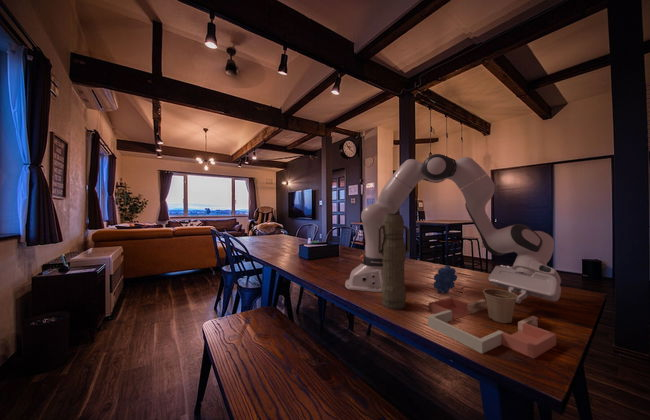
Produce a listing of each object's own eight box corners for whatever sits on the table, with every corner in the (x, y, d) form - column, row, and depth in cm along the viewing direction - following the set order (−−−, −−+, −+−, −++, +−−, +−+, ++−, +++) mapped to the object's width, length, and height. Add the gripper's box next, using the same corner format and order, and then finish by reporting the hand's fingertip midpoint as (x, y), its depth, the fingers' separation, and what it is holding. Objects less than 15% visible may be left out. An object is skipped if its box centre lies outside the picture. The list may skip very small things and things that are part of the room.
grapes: (449, 288, 109) (449, 262, 109) (460, 293, 103) (460, 265, 103) (427, 290, 106) (427, 264, 106) (437, 296, 100) (437, 267, 100)
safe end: (448, 318, 80) (448, 309, 80) (504, 343, 65) (504, 332, 65) (427, 325, 75) (427, 316, 75) (482, 353, 60) (482, 342, 60)
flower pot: (525, 327, 73) (525, 299, 73) (491, 324, 75) (491, 297, 75) (508, 314, 83) (508, 289, 83) (478, 312, 85) (478, 287, 84)
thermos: (414, 308, 88) (413, 213, 88) (383, 310, 86) (382, 214, 86) (403, 299, 97) (403, 213, 96) (375, 301, 95) (374, 213, 95)
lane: (482, 307, 88) (482, 299, 88) (537, 326, 74) (537, 317, 74) (467, 312, 84) (467, 304, 84) (522, 334, 70) (522, 323, 70)
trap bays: (451, 304, 91) (451, 296, 91) (556, 345, 64) (556, 333, 64) (428, 311, 85) (428, 303, 85) (533, 358, 58) (533, 346, 58)
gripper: (493, 259, 96) (479, 287, 91) (561, 270, 78) (548, 306, 73) (499, 268, 98) (486, 296, 93) (567, 282, 80) (554, 317, 75)
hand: (513, 301), depth 83 cm, fingers closed
